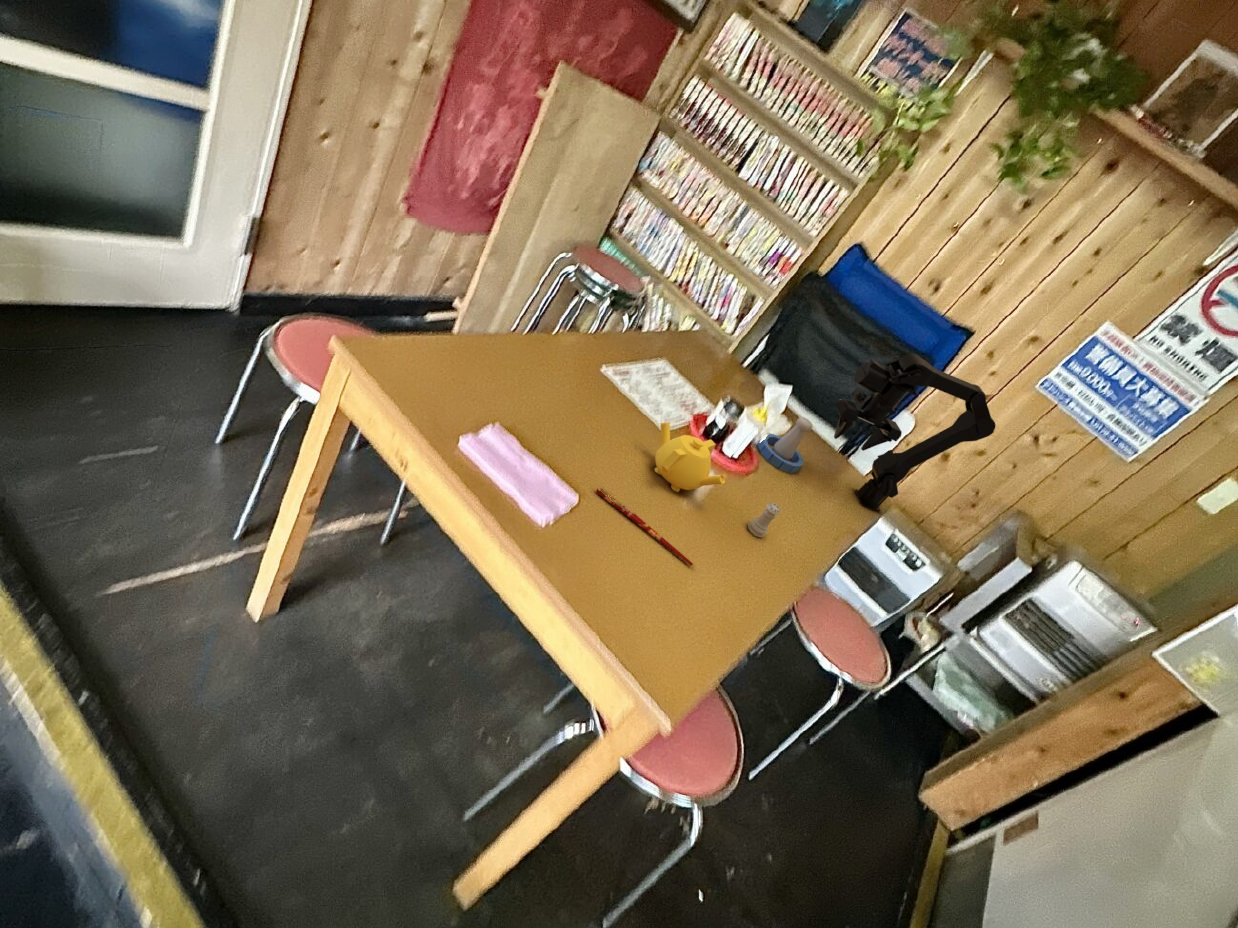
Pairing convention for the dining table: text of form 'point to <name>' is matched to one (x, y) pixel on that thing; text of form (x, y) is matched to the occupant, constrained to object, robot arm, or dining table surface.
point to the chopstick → (644, 526)
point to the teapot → (685, 461)
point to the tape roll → (776, 459)
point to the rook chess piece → (763, 520)
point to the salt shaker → (792, 439)
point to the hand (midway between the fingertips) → (848, 443)
